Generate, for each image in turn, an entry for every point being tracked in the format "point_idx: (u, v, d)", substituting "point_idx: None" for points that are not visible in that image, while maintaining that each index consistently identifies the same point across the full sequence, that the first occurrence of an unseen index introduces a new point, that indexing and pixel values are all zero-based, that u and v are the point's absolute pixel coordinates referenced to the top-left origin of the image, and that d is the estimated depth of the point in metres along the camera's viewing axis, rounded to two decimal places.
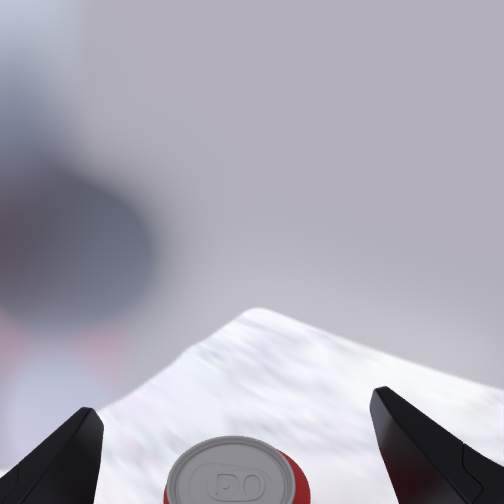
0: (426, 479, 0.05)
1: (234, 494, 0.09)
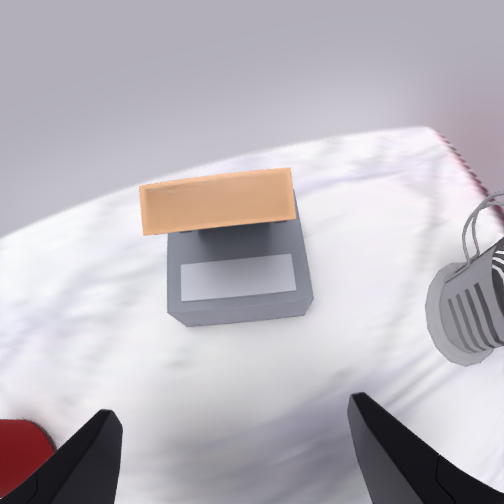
0: (398, 490, 0.05)
1: None
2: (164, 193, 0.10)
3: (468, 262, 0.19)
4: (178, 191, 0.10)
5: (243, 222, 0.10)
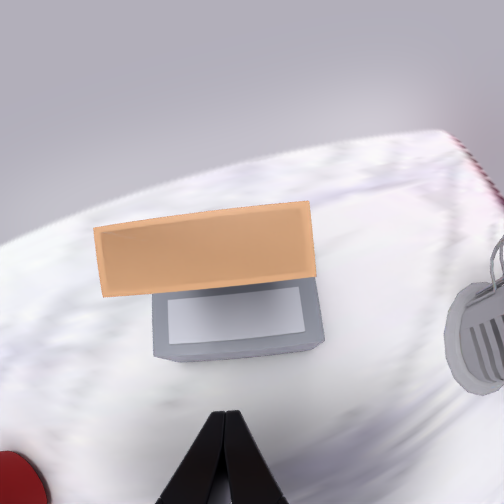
0: None
1: None
2: (126, 239, 0.07)
3: (494, 288, 0.15)
4: (145, 236, 0.07)
5: (240, 282, 0.07)
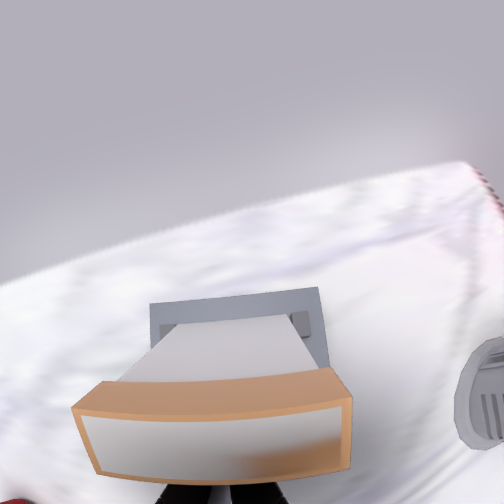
0: None
1: None
2: (114, 429, 0.05)
3: None
4: (138, 431, 0.05)
5: (259, 480, 0.05)
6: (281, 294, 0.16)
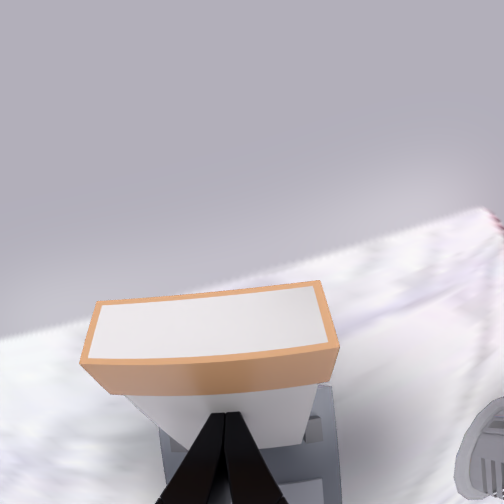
0: None
1: None
2: (126, 313, 0.07)
3: None
4: (146, 311, 0.07)
5: (245, 357, 0.06)
6: None
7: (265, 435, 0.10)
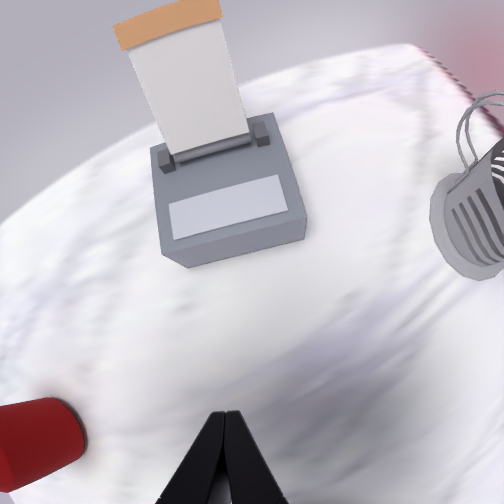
0: None
1: None
2: None
3: (467, 169, 0.17)
4: None
5: None
6: None
7: (214, 103, 0.16)
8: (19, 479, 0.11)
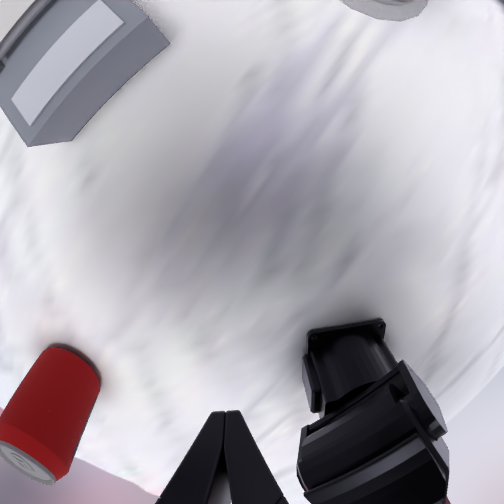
0: None
1: (27, 464, 0.13)
2: None
3: None
4: None
5: None
6: None
7: None
8: (64, 452, 0.15)
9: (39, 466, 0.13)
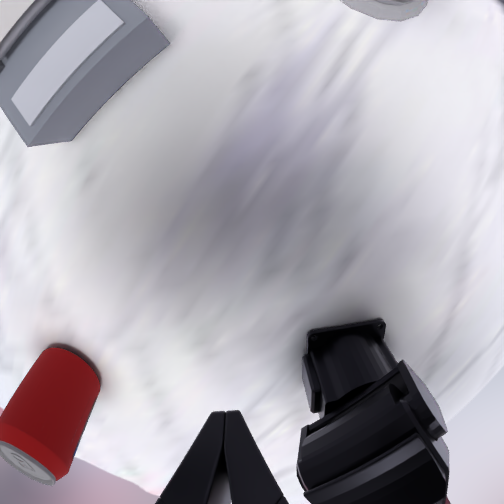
0: None
1: (27, 464, 0.13)
2: None
3: None
4: None
5: None
6: None
7: None
8: (64, 452, 0.15)
9: (39, 466, 0.13)
